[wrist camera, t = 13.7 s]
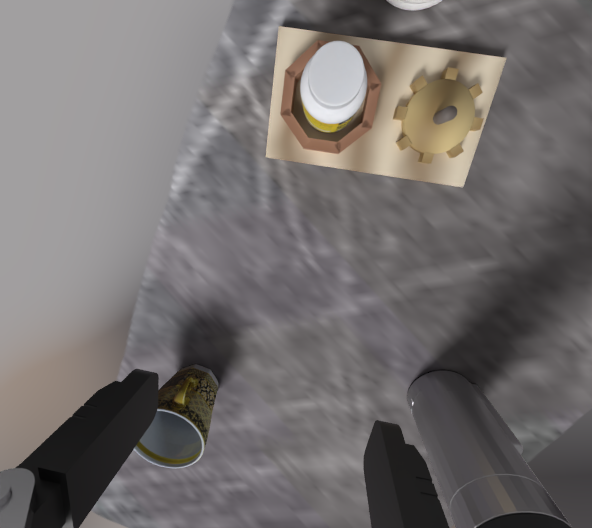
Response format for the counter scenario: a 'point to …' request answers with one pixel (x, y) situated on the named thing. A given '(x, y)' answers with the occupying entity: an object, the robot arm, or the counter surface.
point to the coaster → (413, 4)
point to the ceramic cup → (181, 419)
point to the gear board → (388, 109)
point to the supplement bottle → (333, 86)
